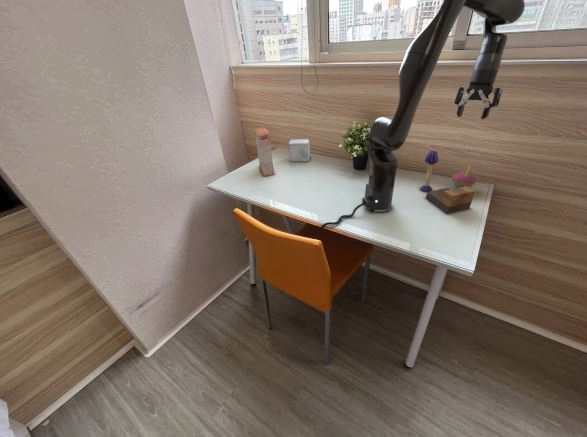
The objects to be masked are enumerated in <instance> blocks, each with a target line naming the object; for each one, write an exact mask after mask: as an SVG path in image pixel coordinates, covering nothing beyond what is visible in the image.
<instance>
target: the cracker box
mask: <svg viewBox="0 0 587 437" xmlns="http://www.w3.org/2000/svg"><path fill="white" fill-rule="evenodd" d="M253 130H254V135H255V141H256V150H257V158H258V163H259V168H260V170H261V173H262V176H263V177H268V176H273V175H275V170H274V163H273V162H274V161H273V155H272V154H273V152H272V144H271V143H272V142H271V136H270V132H269V131H268V129H267V127H266V126H258V127H254V129H253Z"/></svg>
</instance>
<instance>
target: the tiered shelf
mask: <svg viewBox="0 0 587 437" xmlns="http://www.w3.org/2000/svg"><path fill="white" fill-rule="evenodd" d="M475 194H476V190H474V189H473V188H471V187H470V188H469V187H467V186H466V187H461V188H456V189H454V188H452V189H451V188H450V187H444V188H438V189H434V190H432V191H429V192H426V195H425V200H427V201H429V202H430V203H431V204H432V205H433V206H436V207H437V208H438V209H439V210H441V211H442V212H444V213H445V214H446V215H448V214H452V213H457V212H462V211H466V210H470V208H471V205H472V202H473V200H474V197H475Z"/></svg>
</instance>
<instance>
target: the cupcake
mask: <svg viewBox="0 0 587 437" xmlns="http://www.w3.org/2000/svg"><path fill="white" fill-rule="evenodd" d="M470 169H471V164H469V165H468V167H467V169H466V171H460V172H456V173H454V174H453V175H452V176H451V182H452V183H453V189H456V188H461V187H466V186H467V187H469V188H471V187H473V186H475V185H476V183H477V177H475V176H474V175H473V174H471V173H469V171H470Z"/></svg>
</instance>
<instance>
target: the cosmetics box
mask: <svg viewBox="0 0 587 437" xmlns="http://www.w3.org/2000/svg"><path fill="white" fill-rule="evenodd" d="M288 150H289V151H288V152H289V162H309V161H310V158H311V153H310V152H311V150H310V139H308V138H305V139H304V138H301V139H298V138H297V139H290V140H289V142H288Z"/></svg>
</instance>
